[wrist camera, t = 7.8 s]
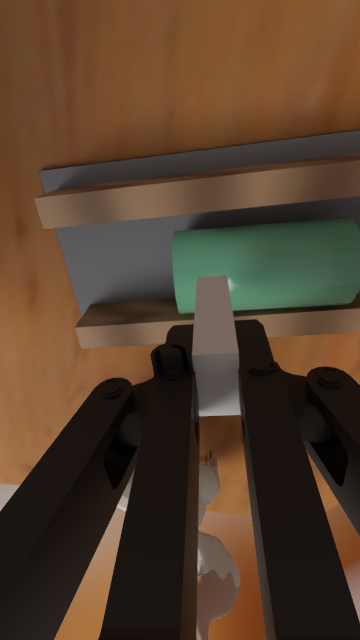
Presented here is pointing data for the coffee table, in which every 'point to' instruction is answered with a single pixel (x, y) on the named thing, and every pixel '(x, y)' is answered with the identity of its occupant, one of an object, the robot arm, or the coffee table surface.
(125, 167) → the mat
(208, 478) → the toy
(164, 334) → the rest
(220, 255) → the bottle
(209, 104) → the coffee table surface
